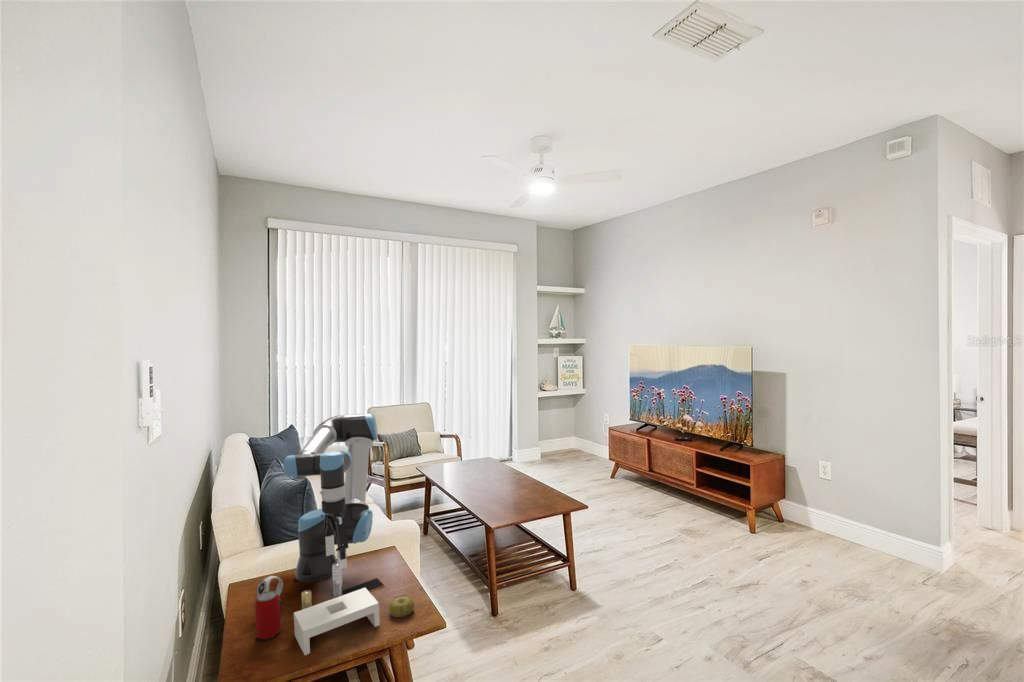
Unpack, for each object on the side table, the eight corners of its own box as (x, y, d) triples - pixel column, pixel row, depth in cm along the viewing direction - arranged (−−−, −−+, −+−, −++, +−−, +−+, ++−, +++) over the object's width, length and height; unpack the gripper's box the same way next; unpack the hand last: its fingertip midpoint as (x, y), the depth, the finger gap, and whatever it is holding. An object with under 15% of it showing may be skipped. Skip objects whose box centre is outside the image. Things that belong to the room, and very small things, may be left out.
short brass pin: (301, 613, 157) (300, 592, 157) (311, 609, 159) (309, 588, 159) (303, 617, 155) (302, 595, 155) (313, 613, 157) (312, 592, 157)
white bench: (294, 635, 146) (293, 612, 145) (366, 608, 159) (365, 587, 159) (304, 655, 136) (303, 631, 136) (379, 625, 149) (378, 602, 149)
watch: (254, 614, 158) (253, 581, 158) (278, 602, 165) (276, 570, 165) (263, 619, 155) (261, 585, 155) (287, 607, 162) (285, 574, 161)
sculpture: (400, 591, 161) (419, 597, 157) (400, 603, 161) (419, 609, 157) (383, 604, 154) (402, 609, 150) (383, 616, 154) (403, 622, 150)
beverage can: (281, 625, 151) (279, 587, 151) (281, 636, 145) (279, 597, 145) (256, 632, 148) (254, 593, 148) (256, 644, 142) (254, 603, 142)
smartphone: (331, 596, 168) (331, 593, 168) (377, 579, 178) (377, 577, 178) (338, 605, 162) (338, 602, 162) (385, 587, 172) (385, 585, 172)
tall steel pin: (332, 602, 163) (330, 564, 163) (341, 599, 165) (339, 561, 165) (335, 605, 161) (333, 567, 161) (344, 602, 163) (342, 564, 163)
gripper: (312, 492, 170) (314, 552, 170) (332, 510, 150) (335, 578, 150) (333, 488, 175) (336, 546, 175) (356, 505, 155) (359, 570, 155)
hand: (336, 561), depth 163 cm, fingers open, 13 cm apart
